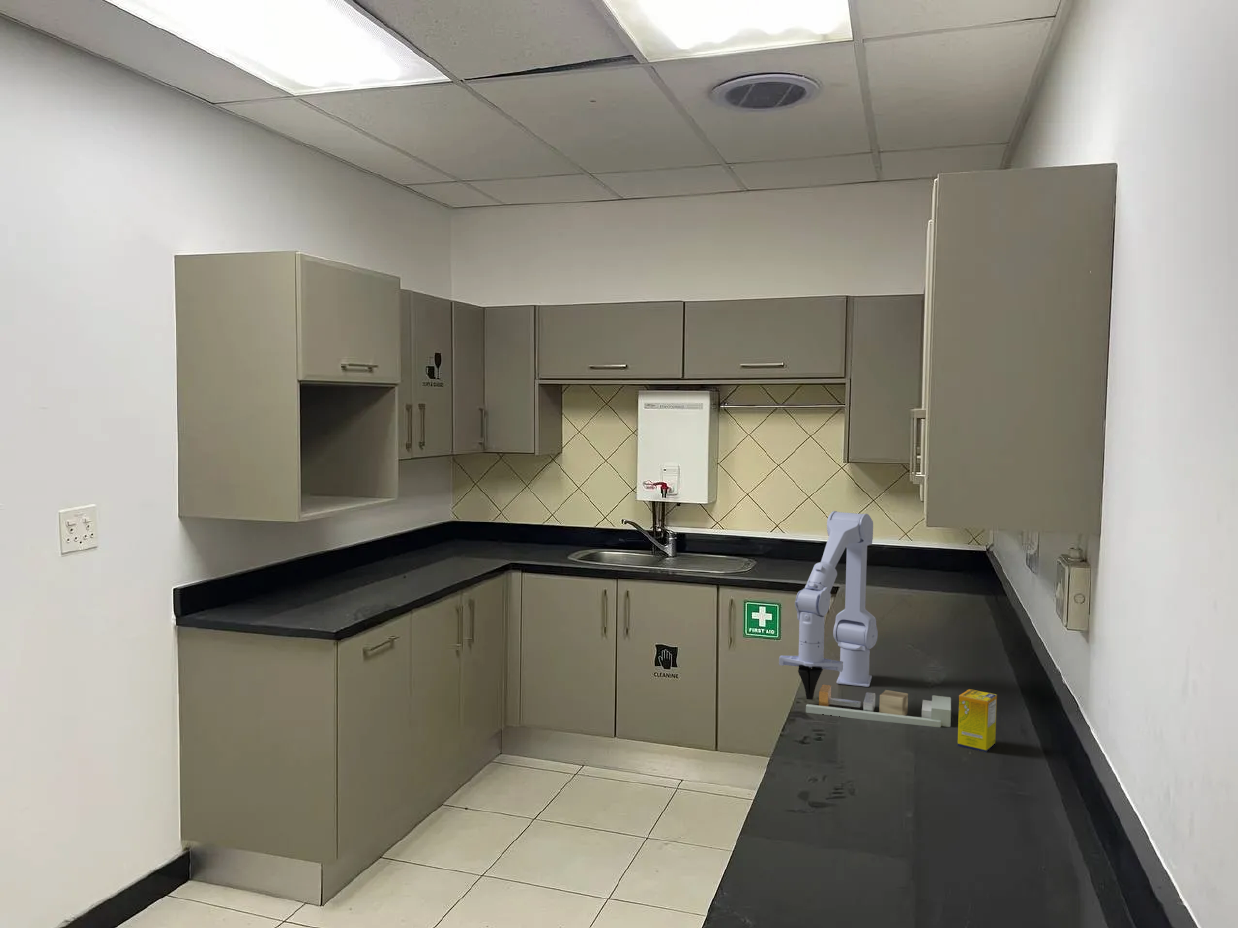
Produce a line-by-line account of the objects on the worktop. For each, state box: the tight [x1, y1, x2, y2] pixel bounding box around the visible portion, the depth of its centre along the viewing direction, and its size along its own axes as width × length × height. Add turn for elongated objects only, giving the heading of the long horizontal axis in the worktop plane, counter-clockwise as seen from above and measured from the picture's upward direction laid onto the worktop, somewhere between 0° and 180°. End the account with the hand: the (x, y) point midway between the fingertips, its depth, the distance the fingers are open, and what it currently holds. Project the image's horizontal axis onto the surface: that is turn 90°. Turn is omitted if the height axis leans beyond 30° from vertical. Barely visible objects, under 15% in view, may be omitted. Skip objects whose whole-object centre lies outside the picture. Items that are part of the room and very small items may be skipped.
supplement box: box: [957, 688, 998, 753], centre depth 189 cm, size 6×6×11 cm
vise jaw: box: [818, 684, 876, 712], centre depth 213 cm, size 8×12×4 cm, turn 70°
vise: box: [805, 695, 952, 728], centre depth 210 cm, size 11×31×4 cm, turn 70°
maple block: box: [878, 689, 909, 716], centre depth 209 cm, size 5×5×5 cm
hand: (809, 698), depth 216 cm, fingers closed
